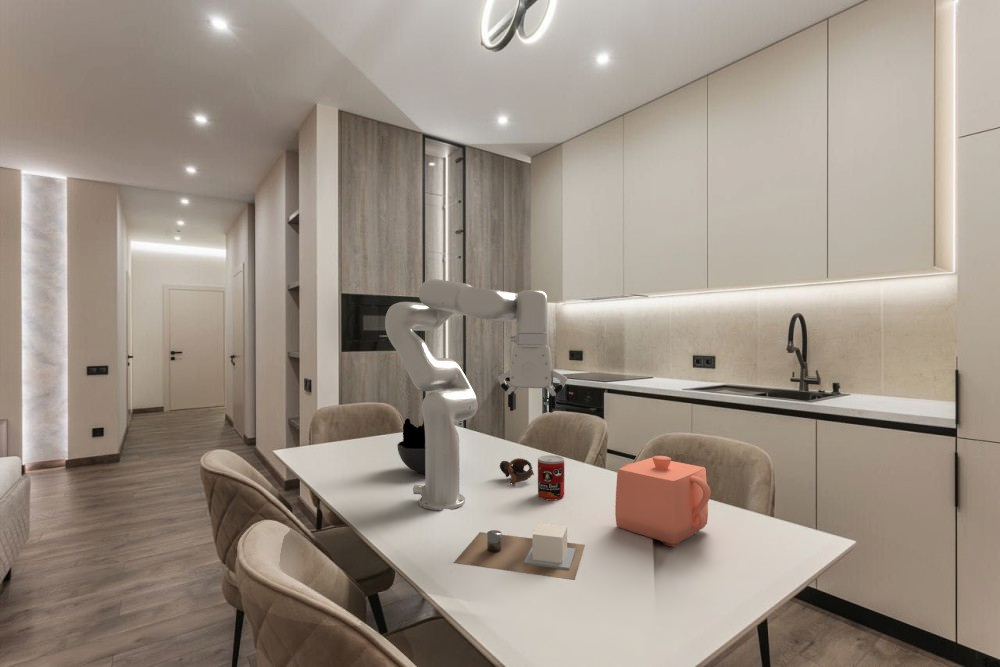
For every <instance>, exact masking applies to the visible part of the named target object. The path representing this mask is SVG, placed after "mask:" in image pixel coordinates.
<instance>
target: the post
mask: <svg viewBox="0 0 1000 667" xmlns="http://www.w3.org/2000/svg"><path fill="white" fill-rule="evenodd" d="M486 533H487V550H488V551H489V552H491V553H497V552H500V551H501V550H502V535H503V534H502V531H500V530H498V529H495V530H494V529H493V530H489V531H487V532H486Z"/></svg>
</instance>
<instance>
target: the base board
mask: <svg viewBox="0 0 1000 667" xmlns="http://www.w3.org/2000/svg"><path fill="white" fill-rule="evenodd" d="M532 546H533V537H522V536H515V535H509V534H508V535H507V534H502V550H501V551H500V552H497V553H491V552H489V551H488V550H487V532H483V531H480V532H478V534H476V536H475V537H474V538H473V540H472V541H471V542H470V543H469V544H468V545H467V547H465V549H464V550H463V551H462V552H461V553H460V555H459V556H458V557H457V558H456V559H455V560H454V561H453V564H458V565H459V564H460V565H466V566H473V567H481V568H487V569H495V570H501V571H509V572H514V573H521V574H531V575H537V576H543V577H551V578H559V579H563V580H565V579H566V580H573V581H575V580H576V577H577V574H578V570H579V567H580V563H581V560H582V556H583V552H584V549H585V546H586V544H582V543H575V542H567V548H575V549H576V552H575V555H574V558H573V561H572V564H571V567H570V570H566V569H558V568H551V567H544V566H536V565H529V564H524V561H525V559H526V557H527V555H528V553H529V552H530V550H531V548H532Z"/></svg>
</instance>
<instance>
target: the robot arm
mask: <svg viewBox="0 0 1000 667" xmlns="http://www.w3.org/2000/svg"><path fill="white" fill-rule="evenodd" d="M417 294H418V298H419V301H420V302H414V301H400V302H397V303H394V304H392V305H391V306H390V307H389V308H388V310H387V312H386V314H385V320H384V325H385V326H384V328H385V332H386V335H387V338H388V340H389V342H390V343H391V345H392V346H393V348H394V350H396V353H397V354H398V356H399V358H400V359H401V362H402V364H403V366H404V368H405V370H406V372H407V374H408V375H409V377H410V380H411V381H412V383H413V385H414V388H416V389H417V390H419V391H421V392H429V393H428V394H427V395H426V396H425V397H424V398H423V400H422V402H421V414H422V419H423V423H424V426H425V473H424V474H425V477H424V478H425V480H424V481H425V482H424V483H425V484H424V485H418V484H414V485H413V487H412V490H413V491H412V492H413V495H420V496H421V498H419V505H420V506H421V507H422V508H424V509H427V510H432V511H444V510H453V509H458V508H460V507H462V506H463V505H464V504H465V502H466V498H465V496H464V495H463V494H461V493H460V435H459V433H458V430H457V428H456V426H455V423H456V422H457V423H458V422H460V421H465V420H469V419H471V418H472V417H474V416H475V415H476V413H477V411H478V409H479V408H478V406H479V405H478V403H479V402H478V399H477V395H476V393H475V391H474V389H473V388H472V386H471V384H470V382H469V380H468V378H467V376H466V374H465V373H464V371H463V370H462V368H461V366H460V365H459V364H458V363H457V362H456V360H453V359H452V358H448V357H435V356H434V355H433V354H432V352H431V351H430V348H429V347H428V345H427V343H426V342H425V341H424V339H422V337H420V336H419V335H418V334H417V333H416V332H415V331H417V332H418V331H421V332H422V331H423V332H430V331H434V330H436V329H439V327H441V326H443V325H444V323H446V322H447V321H448V320H449V319H450V318H451V317H452V316H454V315H455V314H458V315H461V316H466V317H470V318H475V319H480V320H485V321H495V322H496V321H499V322H516V334H515V335H514V336H511V337H510V341H511V343H515V345H516V346H513V347H512V352H511V357H510V369H509V370H507V371H505V372H503V373H502V374H500V375H498V376H497V380H498V382H499V384H500V386H501V388H502V389H503V391H505V393H506V394H507V405H508V406H507V407H508V408H509V411H510V412H513V411H515V410H517V393H515V391H516V390H517V389H518V388H519V389H524V388H525V389H546V390H547V392H548V393H549V395H548V413H551V414H552V413H553V412H555V410H556V409H557V395H558V394H559V393H560V392H561V391H562V390H563V389H564V388H565V385H566V383H567V381H568V377H567V376H565V375H563V374H561V373H559V372H558V371H556V370H555V369H554V368H553V357H552V351H551V350H552V349H551V346H548V295H547V293H545V291H543V290H531V289H530V290H529V289H528V290H522V291H519V292H512V291H511V292H510V291H504V290H499V289H498V290H497V289H489V288H484V287H483V288H481V287H475V286H472V285H471V284H469V283H465V282H458V281H450V280H445V279H444V280H443V279H435V278H432V279H428V280H426V281H424V282H423V283H421V285H420V286H419V288H418V292H417ZM508 377H509V384H508V383H507V382H506V379H507V378H508ZM554 379H557V380H559V384H558V385H557V386H556V387H554V385H553V384H554Z"/></svg>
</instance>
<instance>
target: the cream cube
mask: <svg viewBox="0 0 1000 667" xmlns="http://www.w3.org/2000/svg"><path fill="white" fill-rule="evenodd" d="M532 538H533V560H541V561H549V562H556V563H563V561H564V558H565V555H566V553H567V543H568V526H567V525H559V524H558V525H557V524H548V523H541V522H539V523H538V524H537V526H536V527H535V529H534V531H533V533H532Z"/></svg>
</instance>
